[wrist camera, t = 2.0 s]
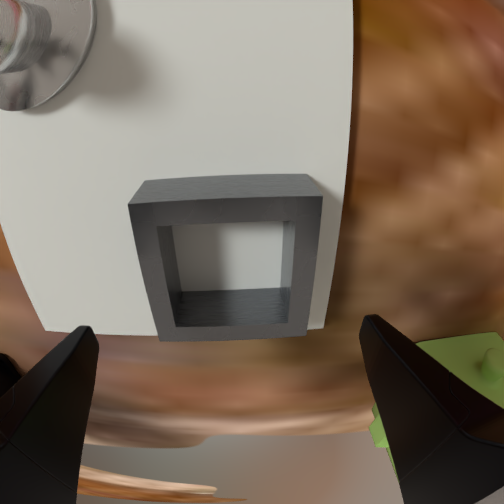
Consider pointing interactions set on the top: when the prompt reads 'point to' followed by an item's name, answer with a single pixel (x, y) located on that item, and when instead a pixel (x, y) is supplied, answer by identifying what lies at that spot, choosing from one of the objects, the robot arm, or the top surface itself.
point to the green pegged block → (461, 370)
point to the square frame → (227, 211)
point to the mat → (176, 150)
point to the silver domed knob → (42, 48)
